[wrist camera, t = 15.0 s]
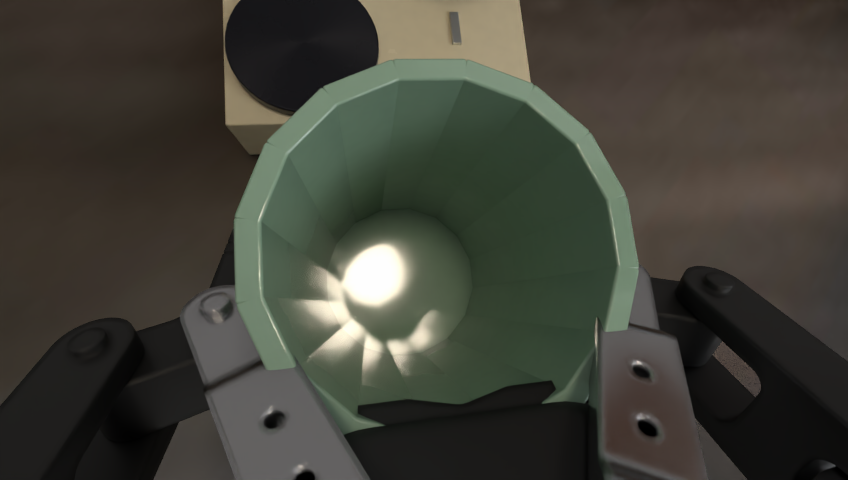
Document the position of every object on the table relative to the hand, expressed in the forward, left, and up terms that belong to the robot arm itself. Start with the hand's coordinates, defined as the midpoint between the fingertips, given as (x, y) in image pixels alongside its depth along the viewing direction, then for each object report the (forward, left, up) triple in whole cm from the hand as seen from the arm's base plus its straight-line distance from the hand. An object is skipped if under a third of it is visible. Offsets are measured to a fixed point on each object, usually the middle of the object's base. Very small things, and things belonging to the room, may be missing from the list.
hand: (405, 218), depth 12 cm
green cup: (0, +2, -4) cm, 5 cm away
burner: (+3, -7, -3) cm, 8 cm away
